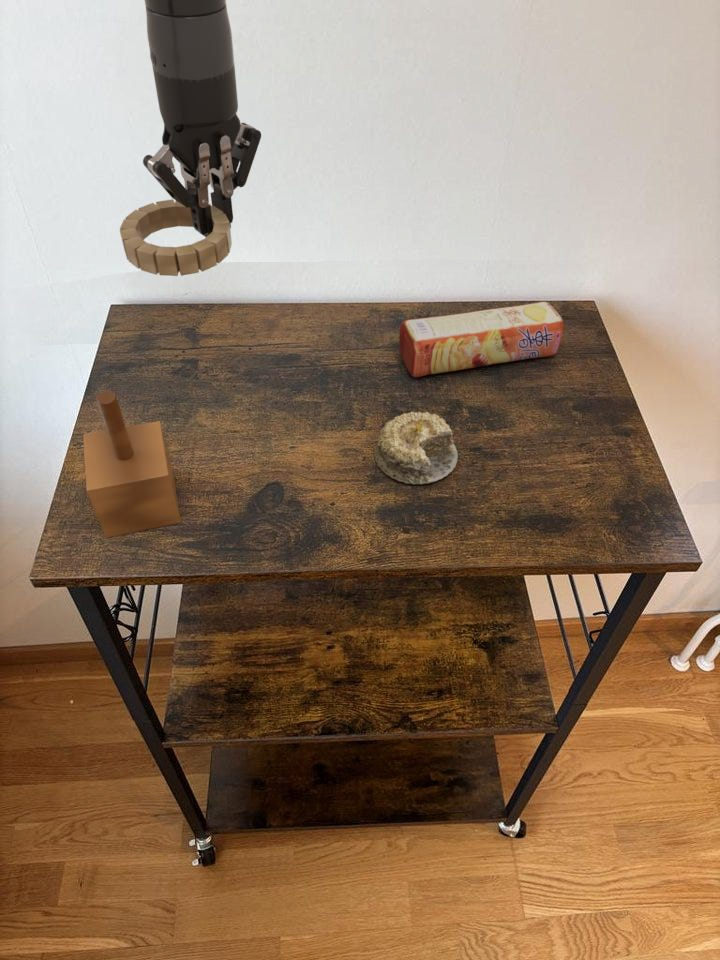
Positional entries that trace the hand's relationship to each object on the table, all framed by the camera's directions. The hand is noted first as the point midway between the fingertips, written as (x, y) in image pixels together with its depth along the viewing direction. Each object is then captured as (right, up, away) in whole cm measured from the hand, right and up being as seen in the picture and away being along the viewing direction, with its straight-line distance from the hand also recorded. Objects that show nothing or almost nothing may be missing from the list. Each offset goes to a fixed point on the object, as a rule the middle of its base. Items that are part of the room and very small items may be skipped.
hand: (214, 230), depth 81 cm
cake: (+23, -25, +6) cm, 34 cm away
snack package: (+32, -11, +18) cm, 39 cm away
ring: (-3, -2, -2) cm, 5 cm away
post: (-8, -30, +1) cm, 31 cm away
